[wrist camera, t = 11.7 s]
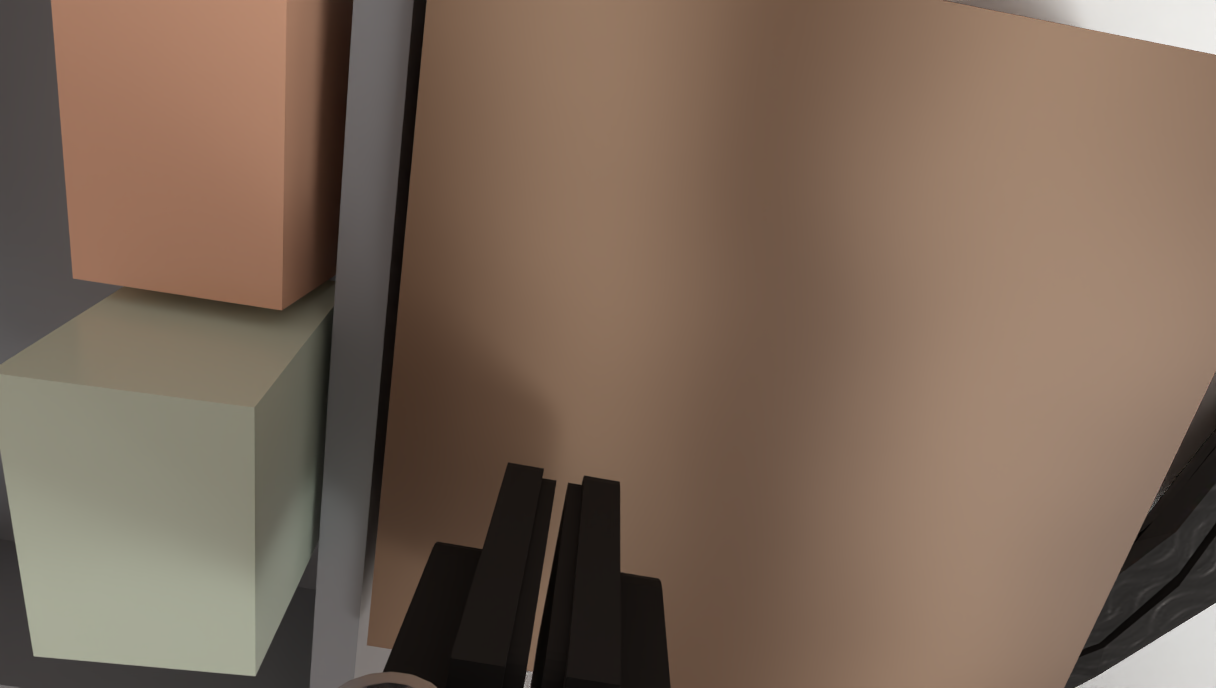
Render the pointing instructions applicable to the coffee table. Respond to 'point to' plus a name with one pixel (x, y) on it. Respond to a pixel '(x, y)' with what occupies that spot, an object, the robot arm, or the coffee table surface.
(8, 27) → the box
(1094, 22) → the coffee table surface
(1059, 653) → the brown square platform
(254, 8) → the peach cube block
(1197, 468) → the hairbrush
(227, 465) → the pale green cube
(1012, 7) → the coffee table surface
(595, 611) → the robot arm
